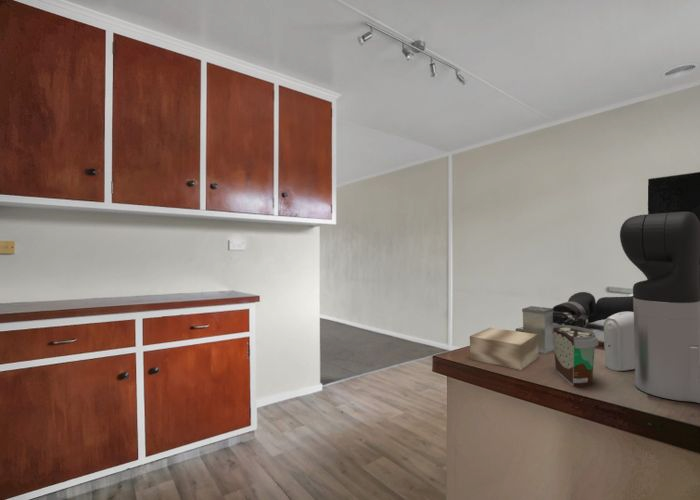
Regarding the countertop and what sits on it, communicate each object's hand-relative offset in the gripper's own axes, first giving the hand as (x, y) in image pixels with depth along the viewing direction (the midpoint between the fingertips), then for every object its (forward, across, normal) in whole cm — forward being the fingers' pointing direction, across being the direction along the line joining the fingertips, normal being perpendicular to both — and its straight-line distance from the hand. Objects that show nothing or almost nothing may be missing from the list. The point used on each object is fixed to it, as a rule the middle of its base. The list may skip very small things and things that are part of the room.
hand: (548, 323), depth 97 cm
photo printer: (+8, -19, -6) cm, 21 cm away
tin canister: (+7, 0, -6) cm, 9 cm away
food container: (+22, -14, -6) cm, 27 cm away
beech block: (+20, +3, -6) cm, 21 cm away
